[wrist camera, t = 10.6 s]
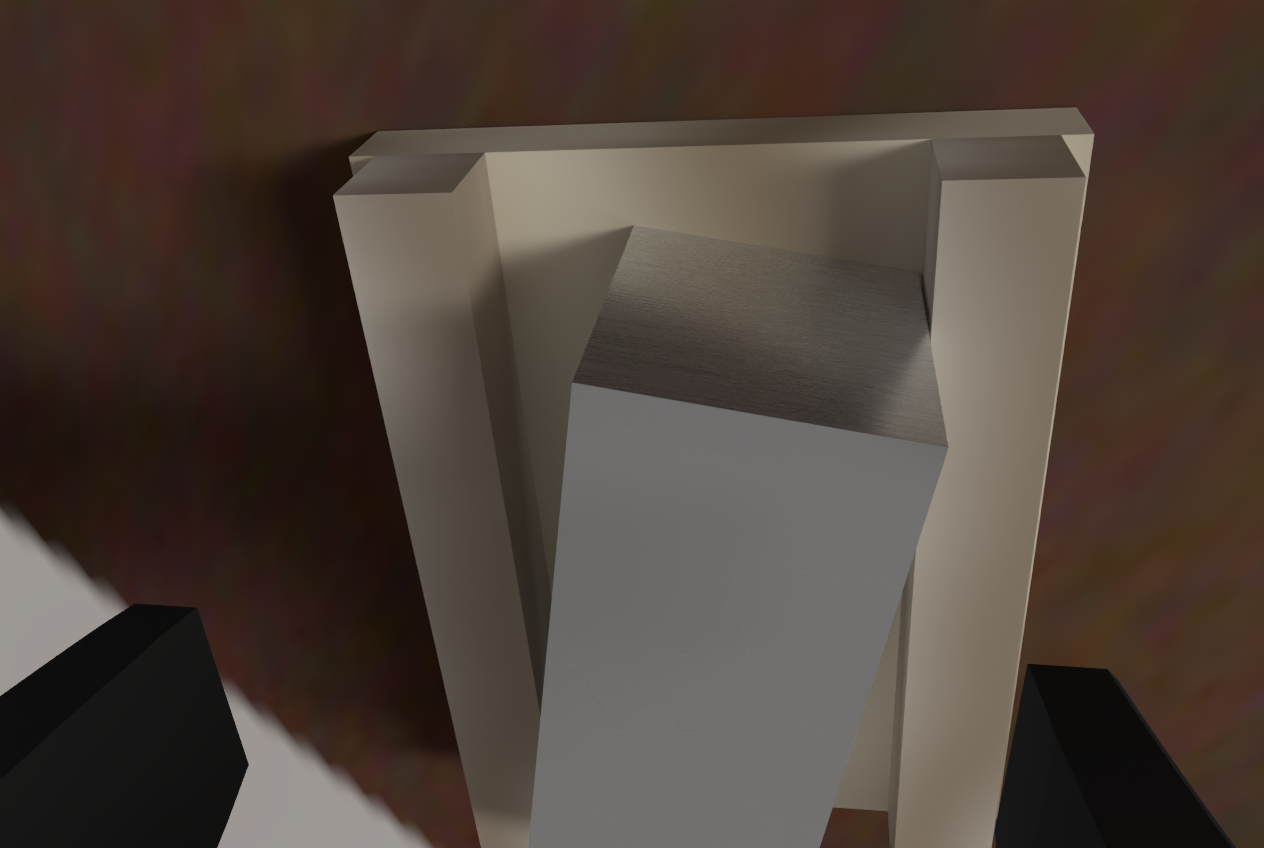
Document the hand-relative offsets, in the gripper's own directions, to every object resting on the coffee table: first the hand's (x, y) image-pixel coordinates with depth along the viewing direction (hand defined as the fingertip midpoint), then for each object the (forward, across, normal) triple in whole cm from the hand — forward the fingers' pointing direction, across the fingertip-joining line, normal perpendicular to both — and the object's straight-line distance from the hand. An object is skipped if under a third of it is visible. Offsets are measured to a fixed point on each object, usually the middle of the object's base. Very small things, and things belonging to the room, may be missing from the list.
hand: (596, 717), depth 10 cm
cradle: (+9, 0, +4) cm, 10 cm away
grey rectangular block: (+8, 0, +4) cm, 9 cm away
